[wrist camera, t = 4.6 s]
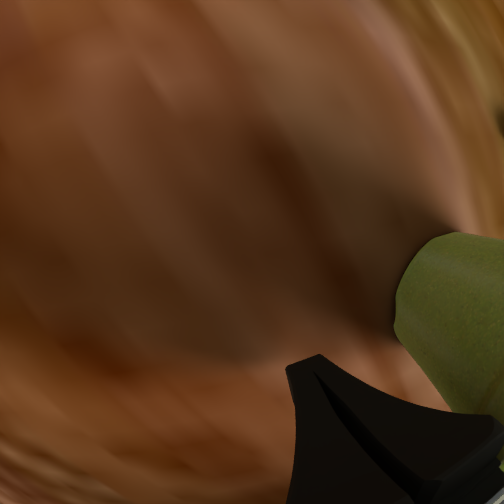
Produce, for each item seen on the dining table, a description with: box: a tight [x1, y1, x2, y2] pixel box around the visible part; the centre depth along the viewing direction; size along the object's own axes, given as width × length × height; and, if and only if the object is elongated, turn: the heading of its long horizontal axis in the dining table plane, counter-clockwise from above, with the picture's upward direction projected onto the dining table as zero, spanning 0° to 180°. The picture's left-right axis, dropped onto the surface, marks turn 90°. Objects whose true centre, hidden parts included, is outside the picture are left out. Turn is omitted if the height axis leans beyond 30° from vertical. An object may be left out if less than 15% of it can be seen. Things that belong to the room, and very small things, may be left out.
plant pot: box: [394, 232, 504, 472], centre depth 9 cm, size 9×9×9 cm
